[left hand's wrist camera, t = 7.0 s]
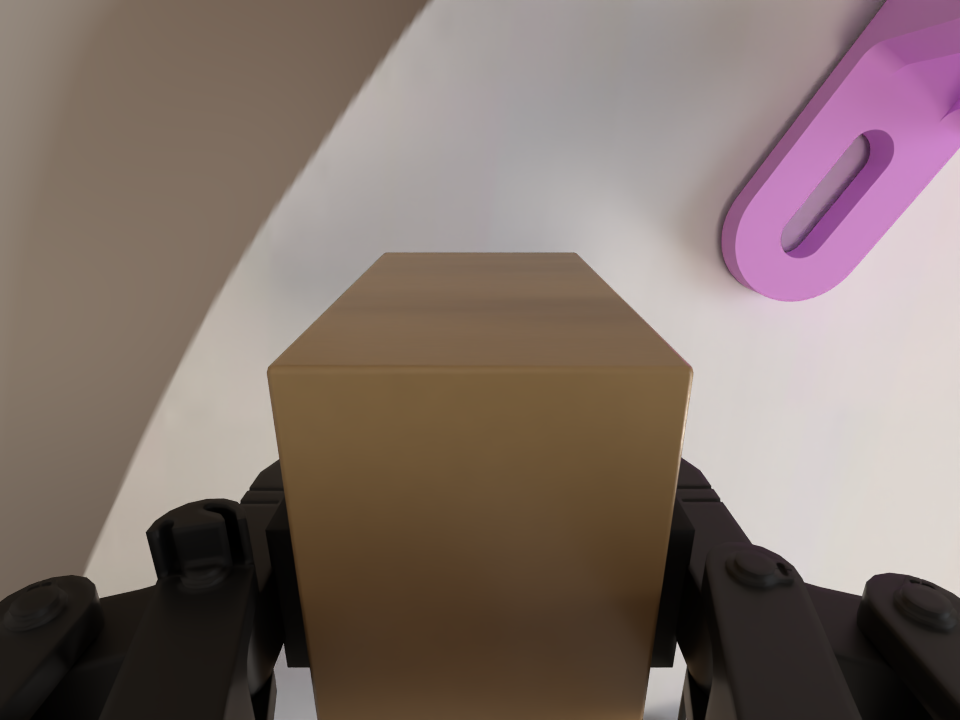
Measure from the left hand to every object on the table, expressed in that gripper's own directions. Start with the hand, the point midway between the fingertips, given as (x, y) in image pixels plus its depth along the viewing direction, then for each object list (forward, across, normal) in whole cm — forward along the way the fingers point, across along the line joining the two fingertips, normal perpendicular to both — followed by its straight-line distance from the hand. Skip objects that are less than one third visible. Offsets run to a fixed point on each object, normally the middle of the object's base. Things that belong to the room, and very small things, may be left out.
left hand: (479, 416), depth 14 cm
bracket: (+12, +15, +7) cm, 20 cm away
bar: (+1, 0, -8) cm, 8 cm away
